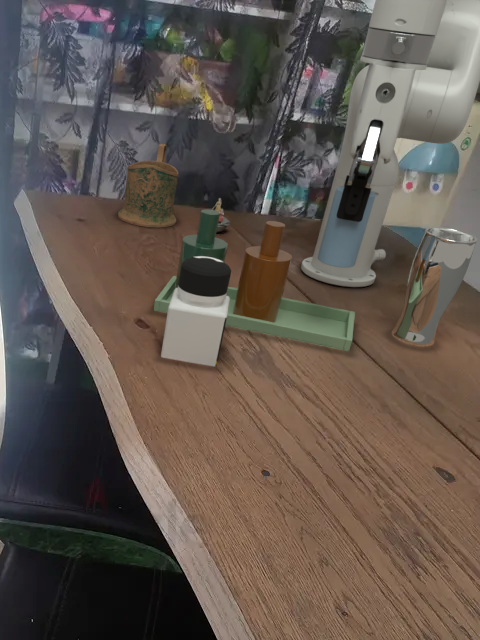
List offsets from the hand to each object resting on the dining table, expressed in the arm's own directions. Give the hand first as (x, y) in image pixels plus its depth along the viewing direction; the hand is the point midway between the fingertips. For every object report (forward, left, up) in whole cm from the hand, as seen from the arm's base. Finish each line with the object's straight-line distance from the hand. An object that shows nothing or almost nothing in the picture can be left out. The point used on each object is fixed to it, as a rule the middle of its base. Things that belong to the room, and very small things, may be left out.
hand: (349, 212), depth 96 cm
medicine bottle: (+22, -2, -17) cm, 28 cm away
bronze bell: (-14, -56, -17) cm, 60 cm away
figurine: (-20, -43, -17) cm, 50 cm away
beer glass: (-12, +8, -17) cm, 22 cm away
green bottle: (+11, -15, -16) cm, 24 cm away
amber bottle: (+5, -7, -16) cm, 18 cm away
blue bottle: (0, 0, -6) cm, 6 cm away
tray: (+5, -7, -16) cm, 19 cm away
